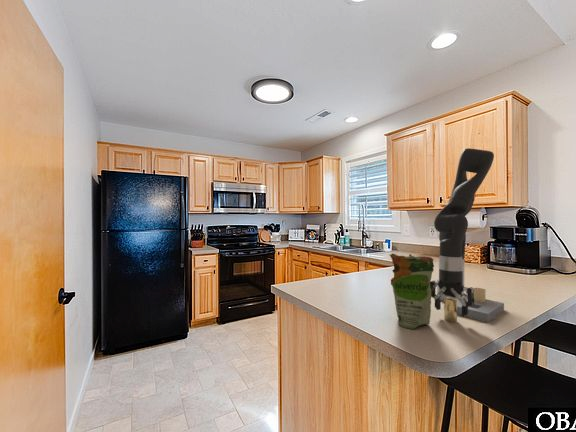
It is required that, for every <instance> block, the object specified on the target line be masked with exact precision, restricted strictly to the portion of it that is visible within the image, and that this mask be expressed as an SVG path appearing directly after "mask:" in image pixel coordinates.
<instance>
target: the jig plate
mask: <svg viewBox="0 0 576 432" xmlns="http://www.w3.org/2000/svg"><path fill="white" fill-rule="evenodd" d="M473 289H474V304H473V305H471V306H468V314H467V315H466V316H465V317H467V318H470V319H473V320H474V319H475V320H477V321H478V320H479V321H482V322H486V323H490V322H491V321H492V320H493V319H495V318H496V317H497V316H498V315H500V314H501V313H502V312H504V311H505V302H502V301H495V300H491V299H486V288H481V287H473ZM463 295H464V296H465V299H466V300H467V301H468V296H467V294H463ZM458 315H459V316H462V304H461V302H460V301H459V300H458V299H457V316H458Z"/></svg>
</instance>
